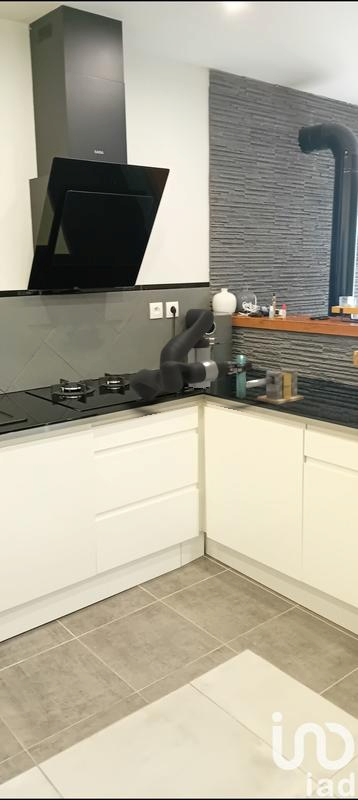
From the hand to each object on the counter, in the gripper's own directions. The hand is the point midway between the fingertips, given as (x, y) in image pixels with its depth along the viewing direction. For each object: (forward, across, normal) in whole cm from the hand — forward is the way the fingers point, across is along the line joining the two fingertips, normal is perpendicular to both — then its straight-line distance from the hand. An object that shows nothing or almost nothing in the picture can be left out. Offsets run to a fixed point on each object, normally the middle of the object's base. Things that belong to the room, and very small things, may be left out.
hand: (247, 364), depth 225 cm
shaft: (+4, 0, -11) cm, 12 cm away
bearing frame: (+16, 0, -16) cm, 23 cm away
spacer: (+17, 0, -14) cm, 22 cm away
